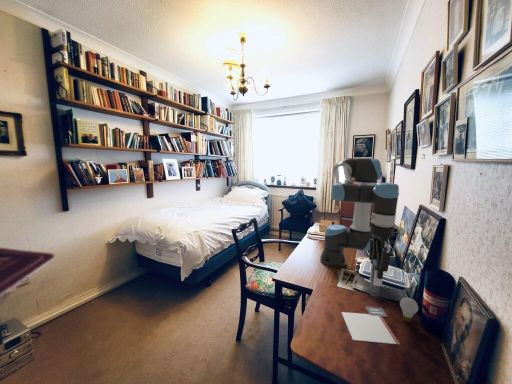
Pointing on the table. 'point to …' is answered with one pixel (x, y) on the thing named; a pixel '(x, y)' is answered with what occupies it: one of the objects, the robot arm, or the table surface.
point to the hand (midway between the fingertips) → (375, 282)
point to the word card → (376, 311)
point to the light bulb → (408, 308)
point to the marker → (373, 289)
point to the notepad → (369, 328)
